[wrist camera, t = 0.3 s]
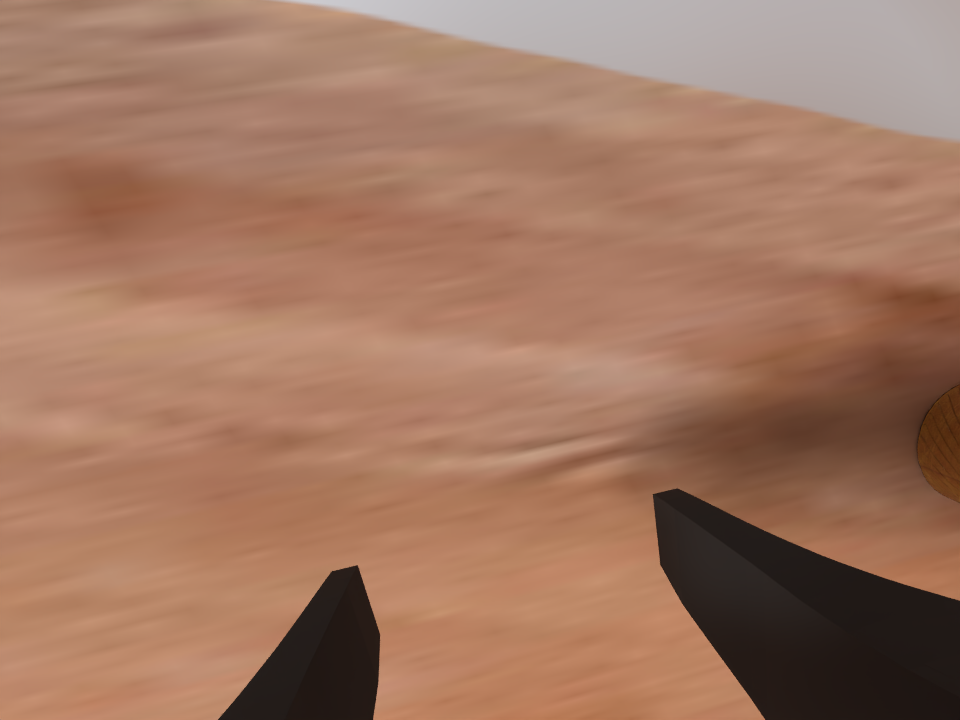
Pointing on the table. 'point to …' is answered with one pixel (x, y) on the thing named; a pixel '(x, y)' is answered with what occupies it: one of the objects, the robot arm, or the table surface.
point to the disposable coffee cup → (942, 445)
